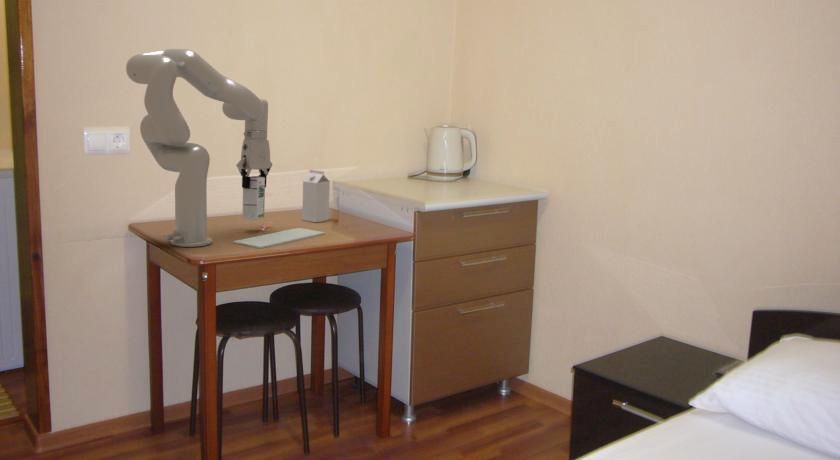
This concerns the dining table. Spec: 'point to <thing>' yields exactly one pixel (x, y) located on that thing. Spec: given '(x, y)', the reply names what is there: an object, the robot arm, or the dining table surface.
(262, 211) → the syrup box
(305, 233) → the mat
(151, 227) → the dining table surface
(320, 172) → the milk carton
